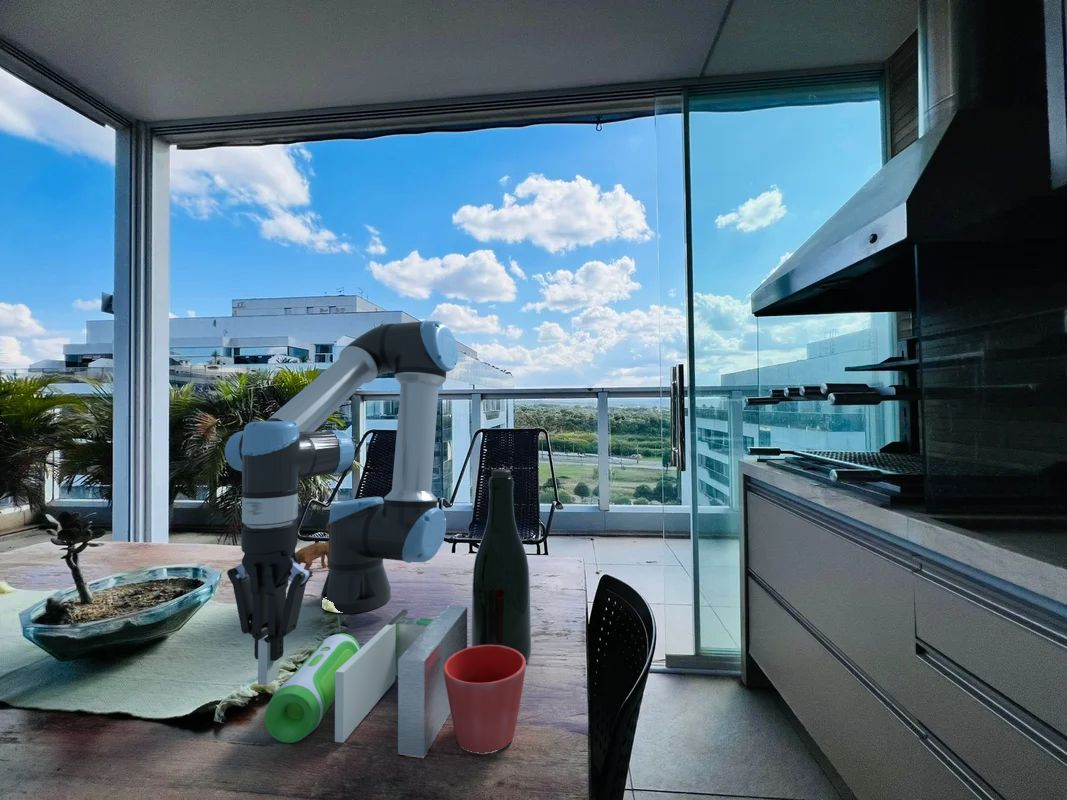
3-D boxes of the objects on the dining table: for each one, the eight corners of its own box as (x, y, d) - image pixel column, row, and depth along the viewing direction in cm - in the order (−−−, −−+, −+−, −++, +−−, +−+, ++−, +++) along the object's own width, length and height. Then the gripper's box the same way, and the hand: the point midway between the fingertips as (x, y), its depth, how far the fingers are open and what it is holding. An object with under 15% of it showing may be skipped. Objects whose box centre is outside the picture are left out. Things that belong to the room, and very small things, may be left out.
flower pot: (447, 713, 71) (447, 645, 71) (523, 709, 72) (523, 641, 72) (439, 766, 60) (439, 685, 60) (528, 760, 61) (528, 681, 61)
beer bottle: (526, 642, 92) (525, 465, 93) (536, 670, 82) (535, 472, 83) (469, 646, 91) (470, 467, 92) (472, 676, 80) (472, 473, 81)
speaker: (320, 675, 81) (320, 629, 82) (364, 675, 81) (364, 629, 82) (260, 748, 64) (261, 689, 64) (316, 748, 64) (317, 689, 64)
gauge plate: (334, 741, 64) (335, 670, 64) (401, 664, 84) (402, 609, 84) (343, 742, 64) (343, 670, 64) (408, 664, 84) (408, 609, 84)
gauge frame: (325, 746, 64) (326, 652, 64) (395, 667, 83) (395, 595, 84) (424, 758, 61) (424, 661, 62) (471, 674, 81) (471, 601, 81)
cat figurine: (280, 589, 123) (278, 534, 123) (267, 583, 127) (265, 530, 127) (345, 567, 137) (343, 518, 137) (332, 563, 141) (330, 515, 141)
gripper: (212, 526, 72) (210, 690, 72) (292, 530, 70) (291, 699, 69) (250, 516, 80) (249, 664, 79) (324, 519, 77) (322, 671, 77)
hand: (268, 680), depth 74 cm, fingers closed
